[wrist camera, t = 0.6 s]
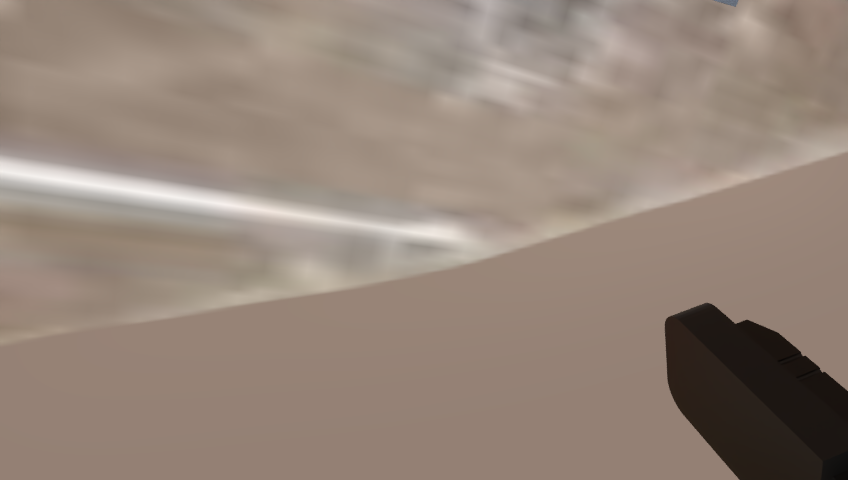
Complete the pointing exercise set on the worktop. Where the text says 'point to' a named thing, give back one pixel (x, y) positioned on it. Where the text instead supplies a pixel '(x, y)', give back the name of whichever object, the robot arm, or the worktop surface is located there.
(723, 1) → the blue rectangular block
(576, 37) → the worktop surface
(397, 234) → the worktop surface
